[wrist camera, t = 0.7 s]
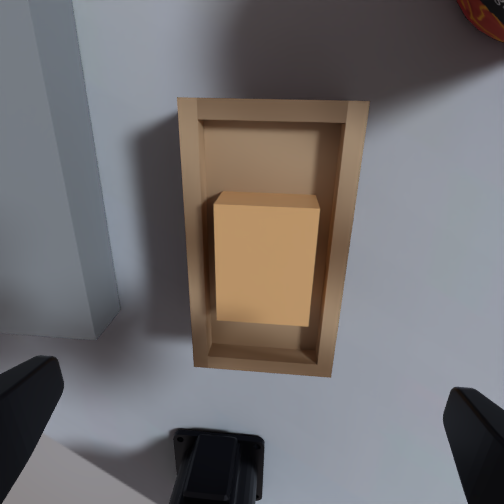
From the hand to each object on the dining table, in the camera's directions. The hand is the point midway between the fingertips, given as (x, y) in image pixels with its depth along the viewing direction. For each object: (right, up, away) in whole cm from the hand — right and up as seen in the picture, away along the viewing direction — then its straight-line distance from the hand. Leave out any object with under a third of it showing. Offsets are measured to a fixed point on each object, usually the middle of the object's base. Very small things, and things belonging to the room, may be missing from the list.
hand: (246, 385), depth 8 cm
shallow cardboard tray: (+1, +5, +10) cm, 11 cm away
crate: (+1, +3, +7) cm, 8 cm away
